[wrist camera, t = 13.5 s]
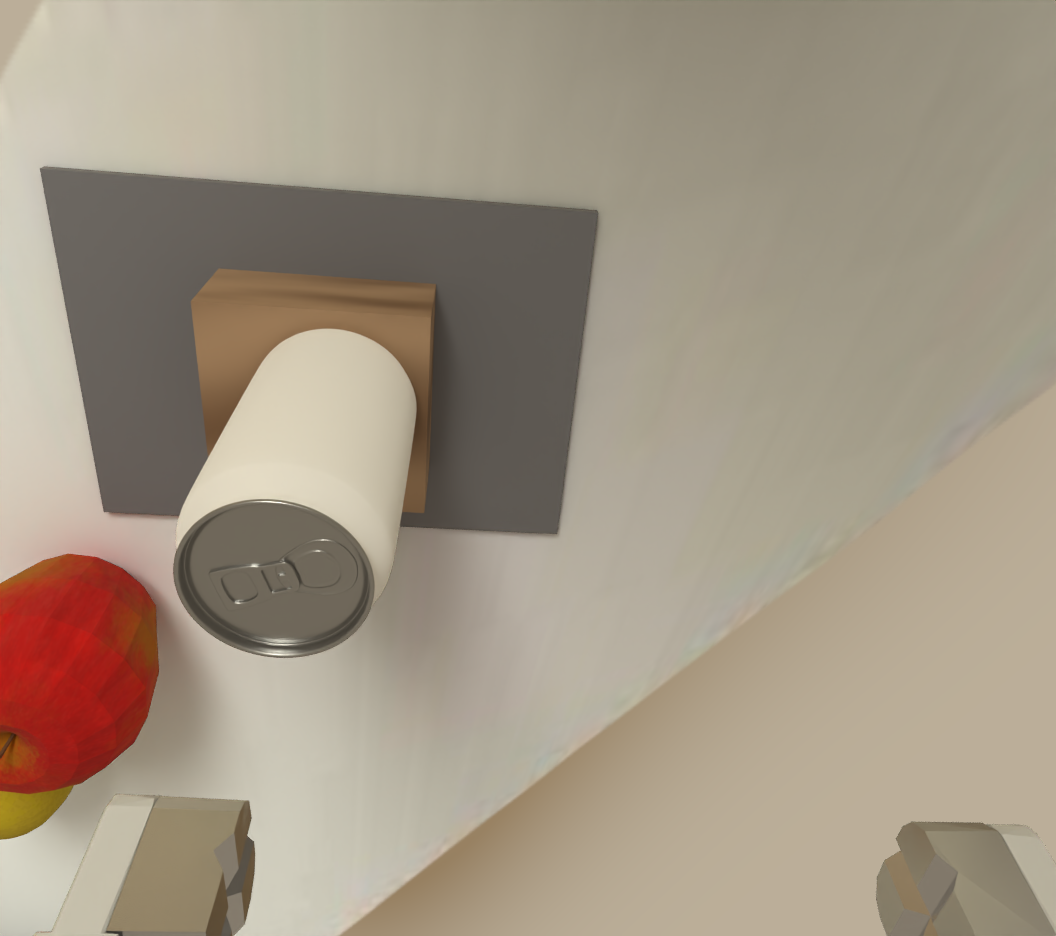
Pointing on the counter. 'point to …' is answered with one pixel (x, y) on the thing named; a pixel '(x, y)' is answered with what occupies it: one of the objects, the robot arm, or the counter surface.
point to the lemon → (28, 810)
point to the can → (300, 498)
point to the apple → (72, 670)
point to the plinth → (301, 305)
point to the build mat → (338, 251)
